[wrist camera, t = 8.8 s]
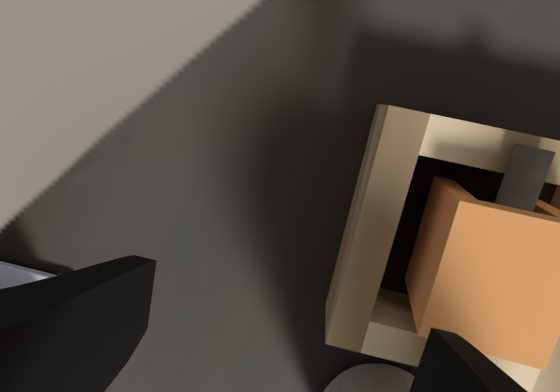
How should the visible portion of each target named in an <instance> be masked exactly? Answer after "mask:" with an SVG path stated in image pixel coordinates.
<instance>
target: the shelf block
mask: <svg viewBox="0 0 560 392" xmlns="http://www.w3.org/2000/svg"><path fill="white" fill-rule="evenodd" d="M418 155H421V156H426V157H431V158H435V159H440V160H445V161H449V162H454V163H459V164H463V165H468V166H472V167H477V168H482V169H486V170H491V171H496V172H500V173H505V174H504V177H503V180H502V183H501V186H500V188H499V191H498V194H497V197H496V200H495V203H494V204H499V205H504V206H508V207H513V208H517V209H522V210H526V211H531V212H533V210H534V208H535V205H536V202H537V200H538V197H539V195H540V192H541V189H542V187H543V184H544V182H547V183H551V184H556V185H557V187H556V190H555V192H554V195H553V198H552V200H551V203H550V205H551V206H553V207H555V208H557V209H558V210H560V141H559V140H554V139H549V138H544V137H540V136H535V135H530V134H525V133H520V132H516V131H511V130H506V129H501V128H496V127H492V126H487V125H482V124H477V123H473V122H468V121H463V120H458V119H453V118H449V117H444V116H439V115H434V114H429V113H425V112H420V111H415V110H410V109H405V108H401V107H396V106H391V105H381V104H377V106H376V110H375V114H374V118H373V122H372V126H371V130H370V134H369V137H368V141H367V145H366V149H365V153H364V157H363V161H362V164H361V168H360V172H359V176H358V180H357V184H356V188H355V192H354V195H353V199H352V203H351V207H350V211H349V215H348V219H347V222H346V226H345V230H344V234H343V238H342V242H341V246H340V249H339V253H338V257H337V261H336V265H335V269H334V273H333V277H332V280H331V284H330V288H329V292H328V296H327V300H326V316H325V344H327V345H331V346H335V347H339V348H343V349H347V350H351V351H355V352H359V353H363V354H367V355H371V356H375V357H379V358H383V359H387V360H391V361H395V362H399V363H403V364H407V365H411V366H415V367H418V365H419V362H420V359H421V356H422V353H423V350H424V347H425V344H426V341H427V338H425V337H421V336H418V334H417V330H416V325H415V321H414V317H413V312H412V308H411V303H410V299H409V295H408V294H404V293H400V292H395V291H391V290H387V289H383V288H380V285H381V281H382V278H383V274H384V271H385V268H386V264H387V261H388V257H389V254H390V251H391V247H392V244H393V240H394V237H395V234H396V230H397V227H398V223H399V220H400V217H401V213H402V210H403V206H404V203H405V200H406V196H407V193H408V189H409V186H410V183H411V179H412V176H413V172H414V169H415V166H416V162H417V159H418ZM484 355H485V356H486V357H487V358H488V359H490V360H491V361H492V362H493V363H494V364H496V365H497V366H498V367H499V368H500V369H501V370H503V371H504V372H505V373H506V374H507V375H509V376H510V377H511V378H512V379H513V380H514V381H516V382H517V383H518V384H519V385H520V386H522V387H523V388H524V389H525V390H526V391H528V392H560V336H559V338H558V341H557V343H556V346H555V348H554V350H553V353H552V355H551V358H550V360H549V363H548V365H547V367H546V370H545V371H544V370H540V369H537V368H533V367H529V366H526V365H522V364H518V363H515V362H511V361H508V360H504V359H500V358H497V357H493V356H490V355H486V354H484Z"/></svg>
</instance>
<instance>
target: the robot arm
mask: <svg viewBox="0 0 560 392" xmlns="http://www.w3.org/2000/svg"><path fill="white" fill-rule="evenodd" d="M155 268H156V260H152V259H148V258H144V257H140V256H136V255H133V256H127V257H122V258H118V259H114V260H111V261H107V262H103V263H100V264H97V265H93V266H90V267H86V268H83V269H79V270H76V271H72V272H69V273H65V274H61V275H54V274H50V273H46V272H42V271H38V270H34V269H30V268H26V267H22V266H18V265H14V264H10V263H6V262H2V261H0V392H104V391H105V390H106V389H107V387H108V386H109V385H110V384H111V382H112V381H113V380H114V378H115V377H116V376H117V375H118V373H119V372H120V371H121V370H122V368H123V367H124V366H125V364H126V363H127V362H128V360H129V359H130V357H131V355H132V354H133V352H134V351H135V349H136V347H137V346H138V344H139V342H140V340H141V339H142V337H143V335H144V334H145V332H146V330H147V327H148V320H149V312H150V305H151V297H152V290H153V283H154V275H155ZM409 392H528V391H526V390H525V389H524V388H523V387H522V386H520V385H519V384H518V383H517V382H516V381H514V380H513V379H512V378H511V377H510V376H509V375H507V374H506V373H505V372H504V371H503V370H501V369H500V368H499V367H498V366H497V365H496V364H494V363H493V362H492V361H491V360H490V359H488V358H487V357H486V356H485V355H484V354H483V353H481V352H480V351H479V350H478V349H477V348H475V347H474V346H473V345H472V344H470V343H469V342H468V341H466V340H465V339H464V338H462V337H461V336H459V335H458V334H456V333H453V332H449V331H445V330H441V329H436V328H432V327H431V330H430V333H429V336H428V338H427V341H426V344H425V347H424V350H423V353H422V356H421V359H420V362H419V365H418V368H417V371H416V374H415V377H414V380H413V383H412V385H411V388H410V391H409Z"/></svg>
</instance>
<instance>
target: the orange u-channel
mask: <svg viewBox="0 0 560 392" xmlns="http://www.w3.org/2000/svg"><path fill="white" fill-rule="evenodd" d="M405 281H406V286H407V290H408V295H409V299H410V303H411V308H412V312H413V317H414V321H415V325H416V330H417V334H418V336H421V337H425V338H428V336H429V333H430V330H431V327H432V328H436V329H441V330H445V331H449V332H453V333H456V334H458V335H459V336H461V337H462V338H464V339H465V340H466V341H468V342H469V343H470V344H472V345H473V346H474V347H475V348H477V349H478V350H479V351H480V352H481V353H483V354H486V355H490V356H493V357H497V358H500V359H504V360H508V361H511V362H515V363H518V364H522V365H526V366H529V367H533V368H537V369H540V370H544V371H545V370H546V367H547V365H548V363H549V360H550V358H551V355H552V353H553V350H554V348H555V346H556V343H557V341H558V338H559V336H560V210H558V209H557V208H555V207H553V206H551V205H549V204H547V203H545V202H543V201H541V200H539V199H538V200H537V202H536V205H535V208H534V210H533V212H531V211H526V210H522V209H517V208H513V207H508V206H504V205H499V204H494V203H490V202H485V201H481V200H477V199H476V198H475V197H473V196H472V195H471V194H470V193H468V192H467V191H466V190H465V189H463V188H462V187H461V186H460V185H459V184H457V183H456V182H455V181H454V180H451V179H447V178H442V177H437V176H434V178H433V182H432V185H431V189H430V192H429V196H428V199H427V203H426V206H425V210H424V213H423V216H422V220H421V223H420V227H419V230H418V234H417V237H416V241H415V244H414V248H413V251H412V254H411V258H410V261H409V265H408V268H407V272H406V275H405Z"/></svg>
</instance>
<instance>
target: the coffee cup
mask: <svg viewBox="0 0 560 392" xmlns="http://www.w3.org/2000/svg"><path fill="white" fill-rule="evenodd" d="M413 380H414V376H413V375H412V374H411V373H409V372H407V371H405V370H403V369H401V368H399V367H396V366H392V365H387V364H383V363H367V364H362V365H358V366H354V367H352V368H350V369H348V370H346V371H344V372H342V373H340V374H339V375H338V376H337V377H336V378H335V379H334V380H332V381H331V383H330V384H329V385H328V386H327V387H326V389H325V390H324V392H409V391H410V388H411V385H412V383H413Z"/></svg>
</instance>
